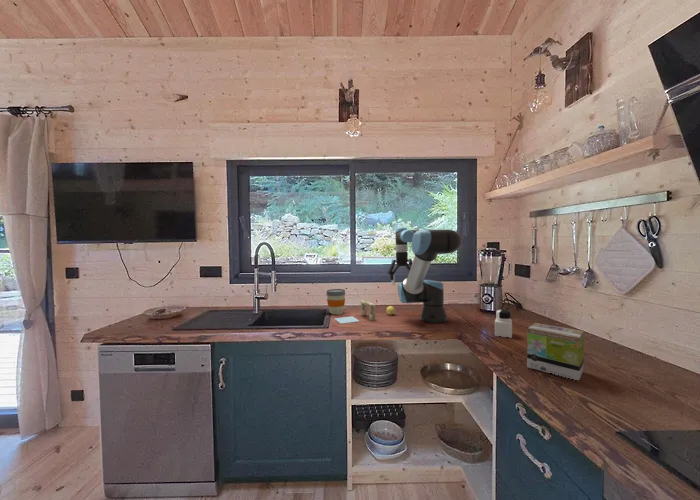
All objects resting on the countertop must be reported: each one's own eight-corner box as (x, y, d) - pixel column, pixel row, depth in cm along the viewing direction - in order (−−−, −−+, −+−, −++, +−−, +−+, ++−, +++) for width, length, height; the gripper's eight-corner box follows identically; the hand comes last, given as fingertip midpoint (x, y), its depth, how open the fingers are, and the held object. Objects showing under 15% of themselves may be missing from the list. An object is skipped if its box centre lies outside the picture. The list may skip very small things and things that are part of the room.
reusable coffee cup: (323, 313, 189) (322, 290, 189) (335, 309, 199) (334, 288, 199) (337, 316, 182) (337, 292, 181) (349, 312, 192) (349, 289, 191)
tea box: (526, 368, 102) (526, 327, 102) (533, 360, 109) (533, 321, 109) (580, 382, 92) (580, 336, 91) (584, 372, 99) (584, 329, 98)
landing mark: (359, 321, 168) (359, 321, 168) (340, 323, 164) (340, 323, 164) (352, 316, 180) (352, 316, 180) (334, 318, 175) (334, 318, 175)
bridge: (365, 314, 184) (365, 300, 184) (375, 320, 170) (374, 304, 170) (361, 315, 183) (360, 300, 183) (370, 320, 169) (370, 305, 169)
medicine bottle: (512, 334, 140) (511, 309, 140) (511, 338, 134) (511, 313, 134) (495, 332, 144) (495, 308, 143) (494, 336, 138) (494, 311, 137)
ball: (396, 315, 181) (396, 306, 181) (389, 316, 179) (388, 307, 179) (392, 313, 186) (392, 304, 186) (384, 314, 184) (384, 305, 184)
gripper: (414, 251, 193) (414, 282, 193) (381, 252, 184) (382, 285, 184) (421, 251, 186) (421, 283, 187) (387, 252, 177) (388, 286, 177)
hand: (402, 284), depth 185 cm, fingers open, 13 cm apart
